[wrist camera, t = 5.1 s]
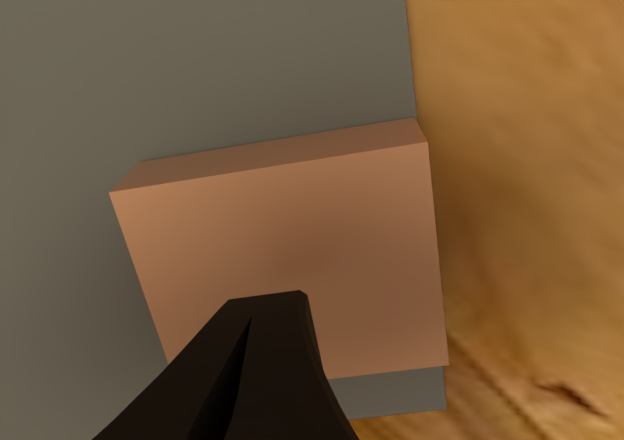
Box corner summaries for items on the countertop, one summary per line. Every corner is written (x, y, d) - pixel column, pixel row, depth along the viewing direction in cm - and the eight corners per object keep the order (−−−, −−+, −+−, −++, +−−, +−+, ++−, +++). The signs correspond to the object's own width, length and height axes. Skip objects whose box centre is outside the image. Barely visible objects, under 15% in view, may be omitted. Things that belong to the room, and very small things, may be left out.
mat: (443, 393, 15) (446, 409, 15) (-57, 449, 17) (-70, 465, 16) (378, -228, 10) (380, -239, 9) (-360, -59, 11) (-396, -60, 11)
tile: (198, 345, 14) (434, 315, 14) (179, 396, 13) (448, 364, 12) (139, 161, 12) (413, 116, 12) (108, 192, 11) (427, 141, 10)
